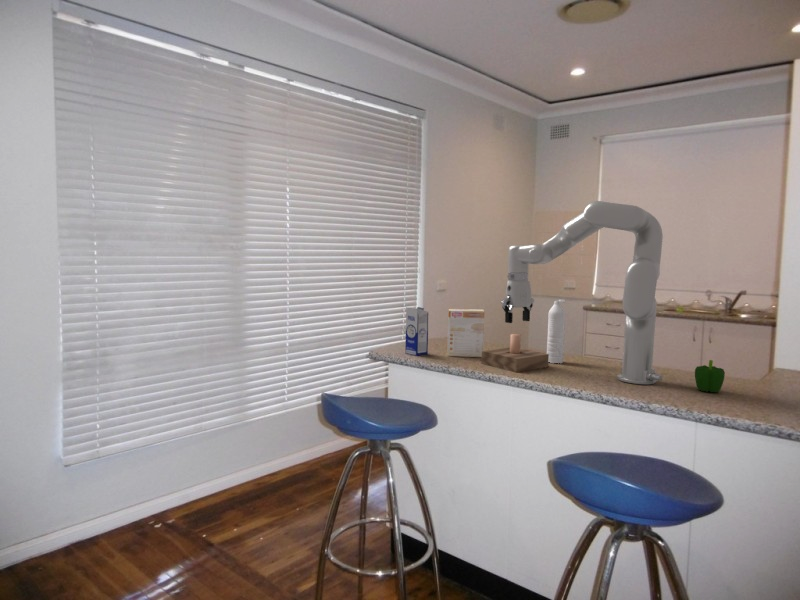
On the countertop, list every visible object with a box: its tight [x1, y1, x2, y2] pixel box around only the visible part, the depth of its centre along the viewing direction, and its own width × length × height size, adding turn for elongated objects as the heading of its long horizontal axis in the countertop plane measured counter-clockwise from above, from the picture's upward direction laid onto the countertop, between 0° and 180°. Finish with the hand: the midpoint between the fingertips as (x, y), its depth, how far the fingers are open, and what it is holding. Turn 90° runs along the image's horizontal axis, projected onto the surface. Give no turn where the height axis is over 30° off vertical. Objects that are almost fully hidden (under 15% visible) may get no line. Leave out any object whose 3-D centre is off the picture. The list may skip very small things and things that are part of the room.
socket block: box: [480, 347, 549, 373], centre depth 210 cm, size 18×18×5 cm
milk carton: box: [404, 306, 430, 357], centre depth 229 cm, size 7×7×20 cm
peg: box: [509, 333, 522, 354], centre depth 210 cm, size 4×4×12 cm
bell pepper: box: [694, 359, 726, 393], centre depth 175 cm, size 8×8×10 cm
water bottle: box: [546, 299, 566, 364], centre depth 218 cm, size 9×6×25 cm
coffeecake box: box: [447, 308, 485, 358], centre depth 228 cm, size 15×7×20 cm, turn 84°
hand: (517, 321), depth 209 cm, fingers open, 9 cm apart
